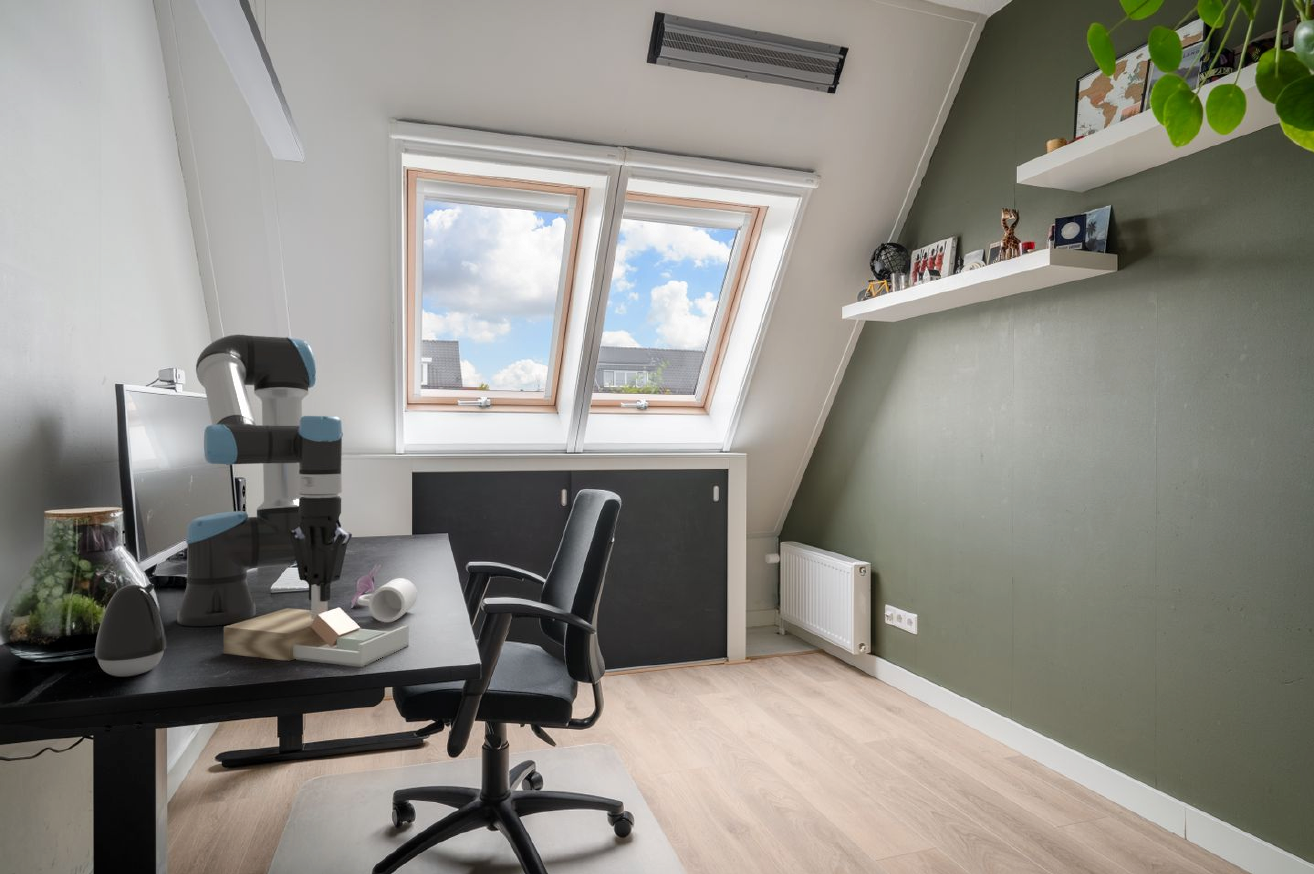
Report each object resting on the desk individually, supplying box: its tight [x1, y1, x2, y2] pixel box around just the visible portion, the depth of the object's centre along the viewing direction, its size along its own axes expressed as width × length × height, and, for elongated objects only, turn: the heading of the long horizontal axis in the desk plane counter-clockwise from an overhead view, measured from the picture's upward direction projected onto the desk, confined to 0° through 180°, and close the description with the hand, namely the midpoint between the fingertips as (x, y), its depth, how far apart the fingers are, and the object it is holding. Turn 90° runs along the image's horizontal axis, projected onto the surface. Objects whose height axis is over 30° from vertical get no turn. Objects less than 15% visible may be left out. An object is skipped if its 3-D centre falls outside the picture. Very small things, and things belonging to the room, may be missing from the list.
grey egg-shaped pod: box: [94, 583, 167, 678], centre depth 133 cm, size 10×10×15 cm
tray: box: [292, 625, 410, 668], centre depth 146 cm, size 15×14×4 cm
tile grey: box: [337, 630, 385, 651], centre depth 145 cm, size 6×6×3 cm
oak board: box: [223, 607, 349, 662], centre depth 150 cm, size 15×16×5 cm
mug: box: [356, 577, 418, 623], centre depth 173 cm, size 12×10×8 cm
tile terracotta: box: [310, 607, 361, 647], centre depth 147 cm, size 6×6×3 cm
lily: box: [350, 563, 382, 609], centre depth 186 cm, size 12×12×10 cm
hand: (319, 617), depth 148 cm, fingers closed
